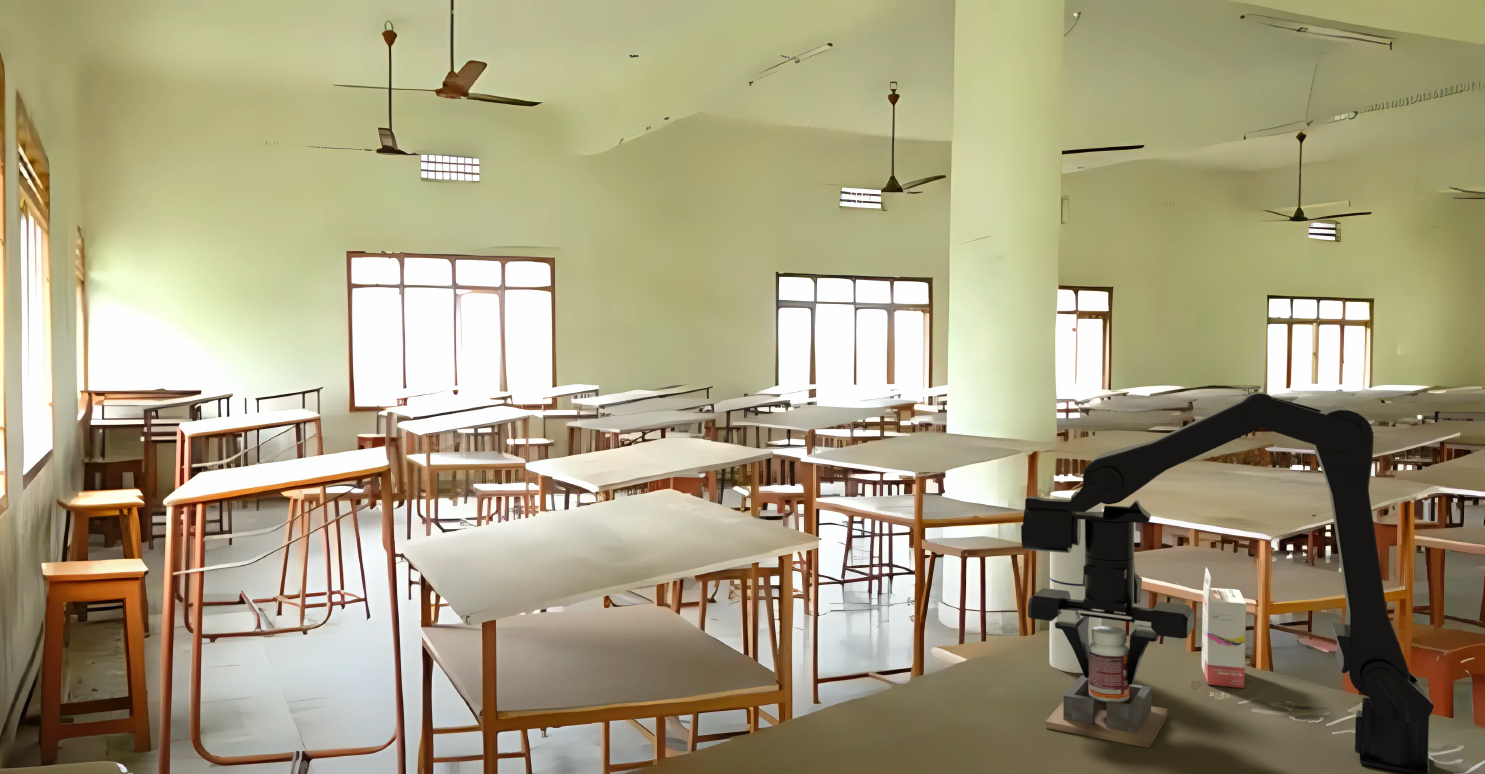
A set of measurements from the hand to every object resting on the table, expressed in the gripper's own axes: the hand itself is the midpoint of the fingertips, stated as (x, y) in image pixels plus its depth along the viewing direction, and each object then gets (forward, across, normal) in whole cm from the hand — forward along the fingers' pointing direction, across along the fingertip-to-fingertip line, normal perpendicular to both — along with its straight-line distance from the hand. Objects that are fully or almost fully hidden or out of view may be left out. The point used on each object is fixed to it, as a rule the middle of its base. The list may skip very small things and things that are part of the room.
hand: (1108, 680), depth 126 cm
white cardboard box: (+6, -10, -25) cm, 27 cm away
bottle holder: (+5, 0, 0) cm, 5 cm away
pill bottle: (+2, 0, 0) cm, 2 cm away
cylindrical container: (+5, +9, -20) cm, 23 cm away
